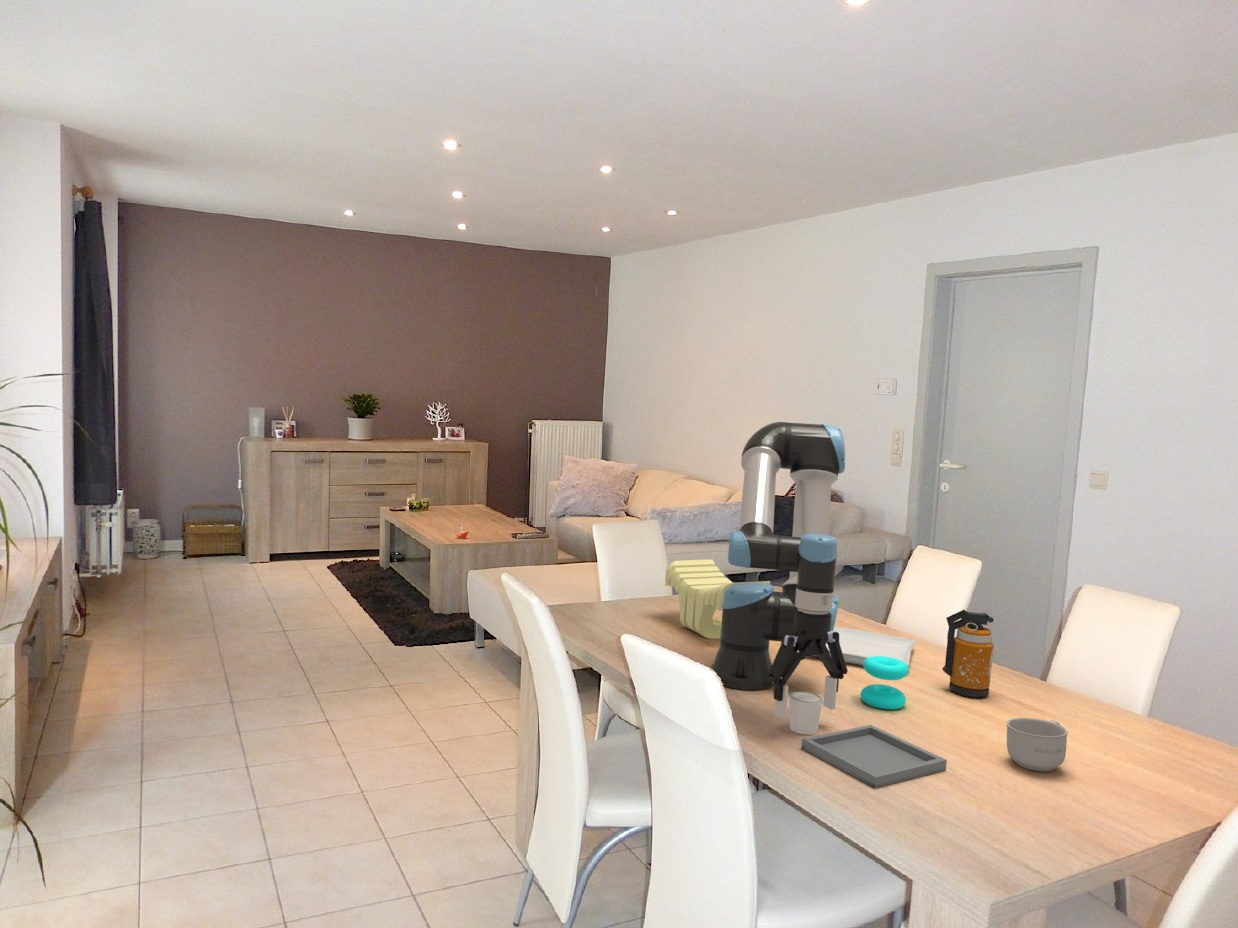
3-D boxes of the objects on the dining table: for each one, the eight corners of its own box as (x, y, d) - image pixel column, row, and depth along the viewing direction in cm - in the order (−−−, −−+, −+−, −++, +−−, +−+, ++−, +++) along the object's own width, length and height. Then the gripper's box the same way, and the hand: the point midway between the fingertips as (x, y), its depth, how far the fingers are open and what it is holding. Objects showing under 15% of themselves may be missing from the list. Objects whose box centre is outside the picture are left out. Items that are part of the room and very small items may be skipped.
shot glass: (822, 726, 189) (824, 694, 188) (818, 738, 182) (820, 704, 182) (789, 721, 191) (791, 688, 191) (784, 732, 185) (786, 698, 184)
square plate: (800, 659, 238) (801, 645, 238) (817, 635, 263) (819, 622, 263) (907, 678, 228) (908, 663, 228) (914, 651, 253) (916, 637, 253)
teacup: (1038, 780, 168) (1043, 739, 168) (990, 758, 178) (994, 718, 177) (1086, 770, 175) (1091, 730, 174) (1038, 748, 184) (1042, 710, 184)
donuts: (880, 668, 199) (855, 655, 209) (876, 712, 200) (851, 697, 209) (918, 666, 202) (892, 653, 212) (914, 710, 203) (888, 695, 212)
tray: (801, 748, 176) (802, 738, 176) (869, 734, 186) (870, 724, 186) (874, 788, 160) (876, 777, 160) (945, 770, 170) (946, 760, 170)
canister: (992, 701, 213) (1000, 618, 211) (942, 695, 215) (950, 613, 213) (984, 689, 221) (992, 609, 220) (937, 683, 224) (945, 604, 222)
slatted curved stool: (662, 619, 269) (666, 560, 267) (708, 616, 276) (712, 559, 275) (716, 648, 242) (721, 583, 241) (765, 644, 249) (770, 580, 248)
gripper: (779, 618, 175) (770, 725, 176) (870, 610, 188) (861, 710, 189) (754, 609, 181) (746, 712, 183) (843, 602, 194) (835, 699, 196)
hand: (804, 711), depth 186 cm, fingers open, 13 cm apart
